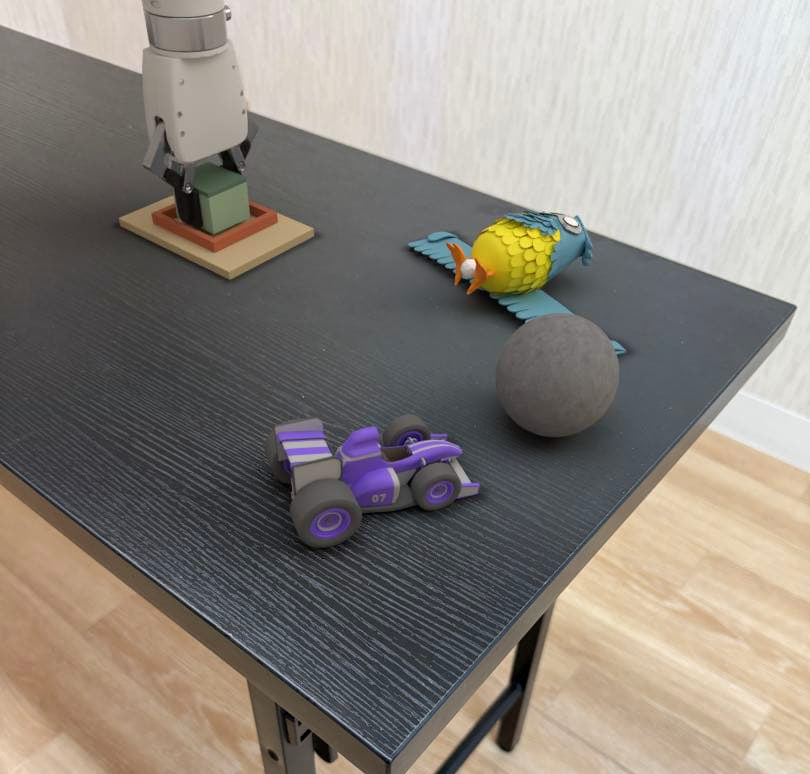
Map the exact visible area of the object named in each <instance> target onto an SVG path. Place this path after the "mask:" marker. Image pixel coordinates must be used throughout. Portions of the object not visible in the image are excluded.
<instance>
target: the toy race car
mask: <svg viewBox="0 0 810 774" xmlns="http://www.w3.org/2000/svg"><path fill="white" fill-rule="evenodd" d="M323 421H324V420H323V419H322V418H321V417H318V416H313V417H307V418H295V419H291V420H287V421H285V422H282V423H280V424H274V425H273V430H272V431H271V432H270V433H269V434H268V436H267V437H266V440H265V443H264V448H263V449H264V455H265V458H266V459H267V462H268V464H269V468H270V469H271V472H272V473H273V475H274V477H275V478H276V479H277V480H278V481H280V482H282V483H284V484H287V485H291V490H292V491H291V492H290V494H291V499H292V500H291V502H290V506H289V515H290V518H291V521H292V523H293V525H294V528H295V530H296V534H297V535H298V537H299V539H300V541H301V542H303V544H305V545H307V546H308V547H312V548H316V549H325V548H326V549H327V548H331V547H335V546H337V545H340V544H342V543H344V542H345V541H347V540H349V539H350V538H351V537H352V536H353V535H354V534H355V533H356V532H357V531H358V529H359V528H360V526H361V523H362V520H363V514H371V513H384V512H385V513H386V512H393V511H399V510H404V509H407V508H411V507H414V506H419V507H420V508H421V509H422V510H425V511H438V510H442V509H444V508H446V507H448V506H449V505H451V504H452V503H453V502H455V500H459V499H463V498H467V497H472V496H477V495H479V493H480V488H481V485H480V483H479V482H472V481H471V480H470V478H469V477H468V474H466V472H465V471H464V469H463V468H462V466H461V465H460V463H459V462H458V459H457V458H458V457H461V456H463V454H464V453H463V452H464V451H463V450H462V448H461V446H460V445H458V444H455V443H452V442H451V441H448V440H449V435H448V434H447V433H431V432H430V430H429V428H428V426H427V424H426V423H425V422H424V420H423V418H421V417H420V416H418V415H416V414H414V413H413V414H412V413H411V414H410V413H408V414H403V415H400V416H397V417H395V418H394V419H393V420H391V421H390V422H389V423H387V425H386V426H385V428H384V430H383V433H382V442H383V444H384V446H385V447H382V446H381V444H380V443H379V440H380V439H379V438H380V434H379V430H378V428H377V426H375V425H373V426H368V427H364V428H359V429H356V430H354V431H352V432H351V433H350V434H349V436H348V438H347V439H346V440H344V442H342V444H341V445H340V446H338V448H336V451H335V452H334V453H335V454H334V455H333V453H332V448H331V446H330V444H329V442H328V440H327V438H326V435H325V431H324V430H325V429H324V422H323ZM439 461H440V462H439ZM413 476H414V477H413ZM412 477H413V478H412ZM411 478H412V480H411ZM410 480H411V482H410V486H409V484H408V482H409V481H410Z"/></svg>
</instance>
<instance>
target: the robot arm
mask: <svg viewBox="0 0 810 774" xmlns="http://www.w3.org/2000/svg"><path fill="white" fill-rule="evenodd" d="M141 6H142V11H143V16H144V22H145V27H146V28H145V29H146V33H147V41H148V44H149V45H148V46H146V47H145V48H143V49H142V58H141V59H142V63H141V70H142V71H141V79H142V80H141V81H142V95H143V107H144V115H145V116H144V117H145V122H146V129H147V135H148V142H149V144H148V147H147V150H146V153H145V155H144V158H143V161H142V167H143V168H144V169H145V170H147V171H149V172H150V173H152V174H154V175H155V176H157V177H158V178H159V179H161V180H162V181H164V182H165V183H166V184H167V185H168V186H169V187H171V188H172V187H173V188H174V192H175V198H176V204H177V210H178V214H179V217H180V219H181V221H183V222H185V223H187V224H189V225H191V226H193V227H195V228H201V227H202V226H203V220H202V213H201V207H200V200H199V193H198V191H196V190H193V185H194V175H195V167H196V164H197V162H200V161H203V160H205V159H207V158H210V157H212V156H215V155H218V156H217V157H218V158H219V160H220V163H221V164H220V165H219V166H220V167H222V168H225V169H227V170H230V171H232V172H234V173H237V174H239V175H241V176H243V174H242V172H244V171H245V170H246V168H247V163H246V159H247V157H248V156H249V153H250V150H251V146H252V143H253V142H254V139H255V138H256V136H257V134H258V132H259V130H260V126H259V124H258V122H257V121H255V119H254V118H253V116H251V115H250V114H249V113H248V111H247V103H246V97H245V96H246V95H245V90H244V89H245V88H244V84H243V79H242V73H241V69H240V65H239V62H238V58H237V54H236V50H235V46H234V44H233V41H232V40H231V39H230V38H229V34H228V26H227V25H228V24H227V22H228V21H230V20H231V19H232V10H231V8H230V6H228V5H227V4H225V0H141ZM167 154H168V164H167V165H166V164H165V163H164V160H165V156H166V155H167ZM181 167H182V171H181ZM181 172H182V176H181V175H180V173H181Z"/></svg>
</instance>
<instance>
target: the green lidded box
mask: <svg viewBox="0 0 810 774" xmlns="http://www.w3.org/2000/svg"><path fill="white" fill-rule="evenodd" d="M180 175H181V176H182V171H180ZM247 183H248V182H247V176H246V177H245V176H244V175H242V176H241V175H239V174H237V173H234V172H232V171H230V170H227V169H225V168H222V167H220V165H218V164H215V163H214V162H211V161H207V162H204V163H201V164H199V165H195V175H194V185H193V190H196V191H198V193H199V200H200V207H201V213H202V220H203V226H202V227H201V228H202V229H204V230H206V231H208V232H210V233H212V234H215V233H218V232H220V231H222V230H224V229H226V228H228V227H231V226H233V225H235V224H237V223H239V222H241V221H244V220H246V219H248V218H250V210H249V201H248V200H249V192H248V184H247ZM171 188H172V194H173V195H174V201H175V207H176V213H177V217H178V218H180V217H179V214H178V210H177V204H176V198H175V192H174V188H173V187H171ZM173 195H172V196H173Z"/></svg>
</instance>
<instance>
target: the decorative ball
mask: <svg viewBox="0 0 810 774" xmlns="http://www.w3.org/2000/svg"><path fill="white" fill-rule="evenodd" d="M574 314H575V313H573V314H568V313H551V314H546V315H542V316H539V317H537V318H534V319H532V320H530V321H528V322H527V323H525V322H524V323H523V324H522V325H521V326H519V327H518V328H517V329H516V330H515V331H514V332H513V333H512V334H511V335H510V336H509V337H508V339H507V340H506V342H505V343H504V345H503V347H502V348H501V351H500V353H499V356H498V357H497V361H496V362H497V363H496V368H495V377H494V379H495V388H496V389H495V390H496V393H497V396H498V400H499V402H500V404H501V406H502V408H503V409H504V411H505V412H506V414H507V415H508V417H509V418H510V419H511V420H512V421H513V422H514V423H516V425H518V426H520V427H521V428H522V429H524V430H525V431H528V432H529V433H532V434H534V435H537V436H540V437H547V438H563V437H570V436H573V435H576V434H578V433H581V432H583V431H584V430H587V429H588V428H590V427H592V426H593V425H594V424H595V423H597V422H598V421H599V420H600V419H602V417H603V416H604V415H605V414H606V412H607V411H608V409H609V408H610V407H611V405H612V404H613V401H614V399H615V397H616V394H617V392H618V391H617V390H618V388H619V383H620V382H619V381H620V364H619V363H620V362H619V358H618V355H616V351H615V349H614V347H613V345H612V343H611V341H610V340H611V339H610V338H609V337H608V335H607V334H606V333H605V332H604V330H602V329H601V327H599V326H598V325H597V324H596V323H594V322H592V321H591V320H589V319H587V318H585V317H583V316H580V315H577V314H575V315H574Z"/></svg>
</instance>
